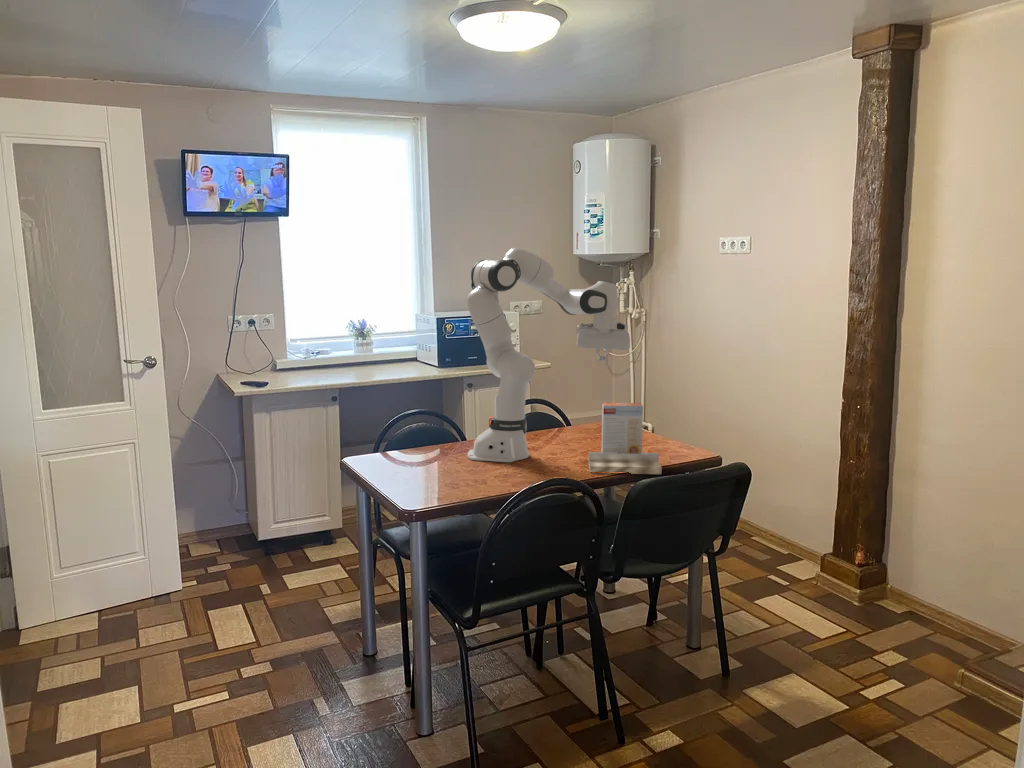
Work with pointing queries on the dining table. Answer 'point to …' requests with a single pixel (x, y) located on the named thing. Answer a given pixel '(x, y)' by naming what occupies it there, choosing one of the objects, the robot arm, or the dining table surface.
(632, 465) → the birch plank
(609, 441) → the cracker box
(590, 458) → the edge rail
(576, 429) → the dining table surface
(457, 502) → the dining table surface
